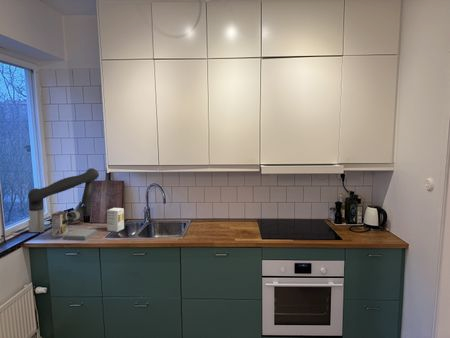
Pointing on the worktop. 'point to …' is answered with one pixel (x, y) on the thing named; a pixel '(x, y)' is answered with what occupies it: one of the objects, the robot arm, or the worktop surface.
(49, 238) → the worktop surface
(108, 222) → the supplement box
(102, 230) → the worktop surface
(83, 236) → the podium
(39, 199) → the robot arm
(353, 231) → the worktop surface
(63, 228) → the coffee box
